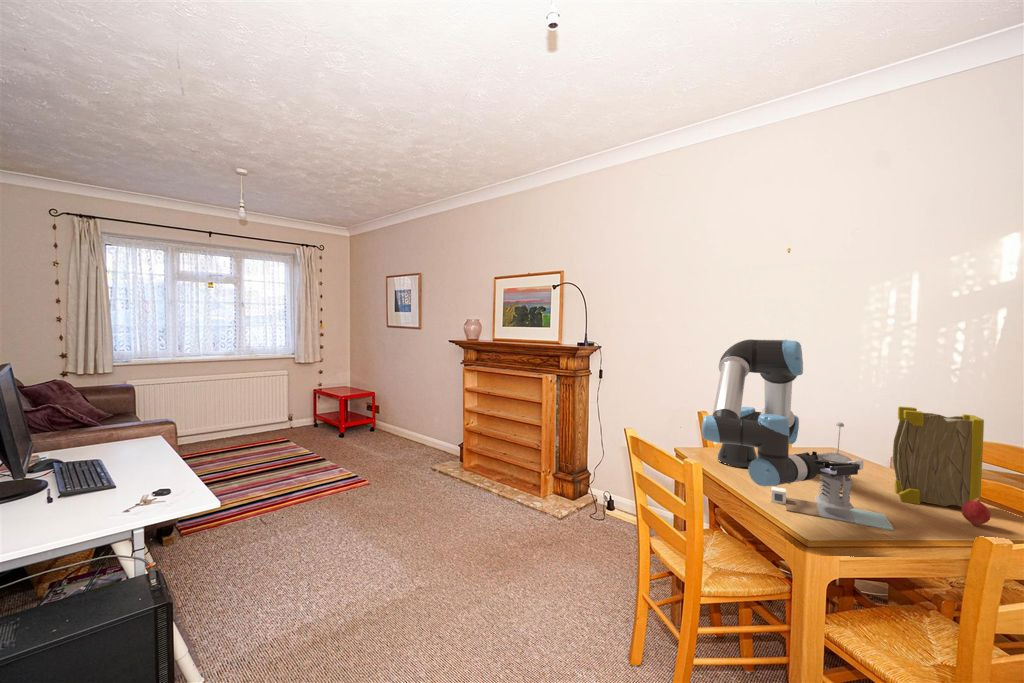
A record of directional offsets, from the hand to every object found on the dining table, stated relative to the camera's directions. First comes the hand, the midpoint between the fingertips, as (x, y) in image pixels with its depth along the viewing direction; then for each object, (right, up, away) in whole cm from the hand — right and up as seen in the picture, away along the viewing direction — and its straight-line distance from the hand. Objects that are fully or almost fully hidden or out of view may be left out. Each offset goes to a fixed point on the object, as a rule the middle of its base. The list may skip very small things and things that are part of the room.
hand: (846, 460), depth 138 cm
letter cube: (-16, -15, +8) cm, 24 cm away
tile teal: (+3, -16, -6) cm, 17 cm away
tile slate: (-5, -16, -1) cm, 16 cm away
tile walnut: (-12, -15, +3) cm, 20 cm away
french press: (-5, -13, -2) cm, 14 cm away
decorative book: (+35, -16, +8) cm, 39 cm away
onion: (+31, -17, -9) cm, 36 cm away
